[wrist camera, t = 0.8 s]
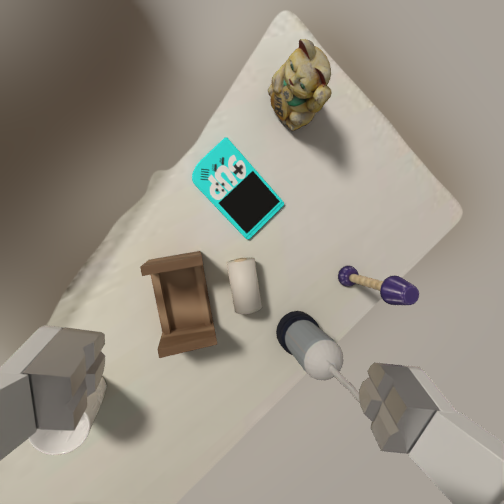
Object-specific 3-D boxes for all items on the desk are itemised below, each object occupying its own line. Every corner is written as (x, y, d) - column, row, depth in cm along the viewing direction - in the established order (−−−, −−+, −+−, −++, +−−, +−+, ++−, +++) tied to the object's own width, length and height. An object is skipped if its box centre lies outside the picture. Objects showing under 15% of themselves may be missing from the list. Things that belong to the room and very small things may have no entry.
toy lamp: (350, 259, 57) (413, 273, 41) (363, 275, 58) (430, 296, 42) (333, 275, 56) (390, 296, 40) (347, 291, 57) (408, 318, 41)
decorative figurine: (256, 95, 50) (282, 41, 35) (290, 67, 51) (329, 3, 36) (289, 140, 52) (326, 106, 37) (321, 112, 53) (370, 69, 38)
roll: (257, 303, 54) (265, 311, 49) (232, 309, 53) (238, 317, 48) (250, 255, 53) (257, 258, 48) (224, 260, 52) (229, 263, 47)
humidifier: (289, 358, 56) (363, 461, 32) (268, 327, 55) (329, 410, 30) (321, 334, 57) (417, 416, 33) (302, 302, 56) (386, 364, 31)
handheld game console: (226, 137, 50) (227, 135, 49) (284, 203, 53) (286, 203, 52) (185, 175, 49) (185, 174, 48) (247, 240, 53) (248, 240, 51)
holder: (213, 326, 52) (217, 344, 45) (164, 337, 51) (159, 358, 43) (200, 251, 50) (201, 255, 43) (148, 259, 49) (140, 266, 41)
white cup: (117, 374, 50) (99, 411, 40) (99, 414, 50) (76, 461, 40) (71, 360, 48) (40, 395, 38) (52, 401, 48) (16, 447, 38)
